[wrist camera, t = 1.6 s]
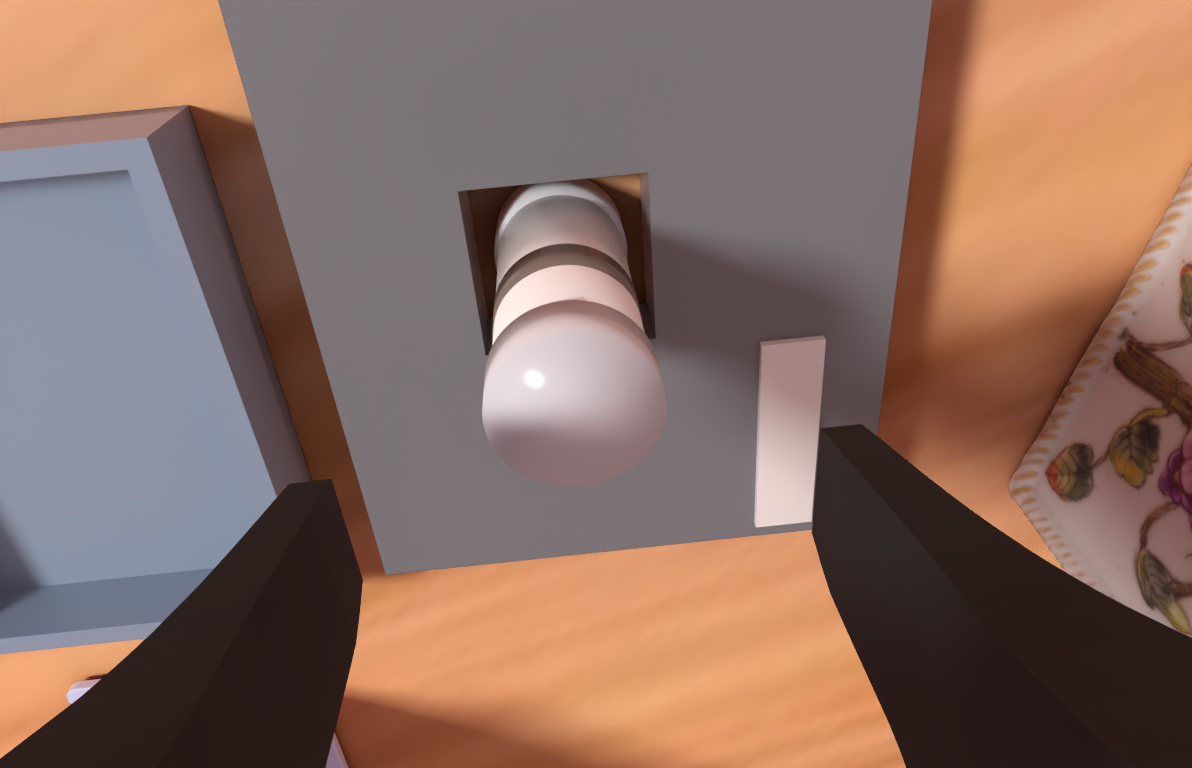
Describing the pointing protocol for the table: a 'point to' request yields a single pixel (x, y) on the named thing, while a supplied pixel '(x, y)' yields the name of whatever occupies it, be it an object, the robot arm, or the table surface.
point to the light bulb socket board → (669, 223)
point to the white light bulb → (568, 341)
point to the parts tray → (124, 380)
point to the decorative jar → (1127, 441)
